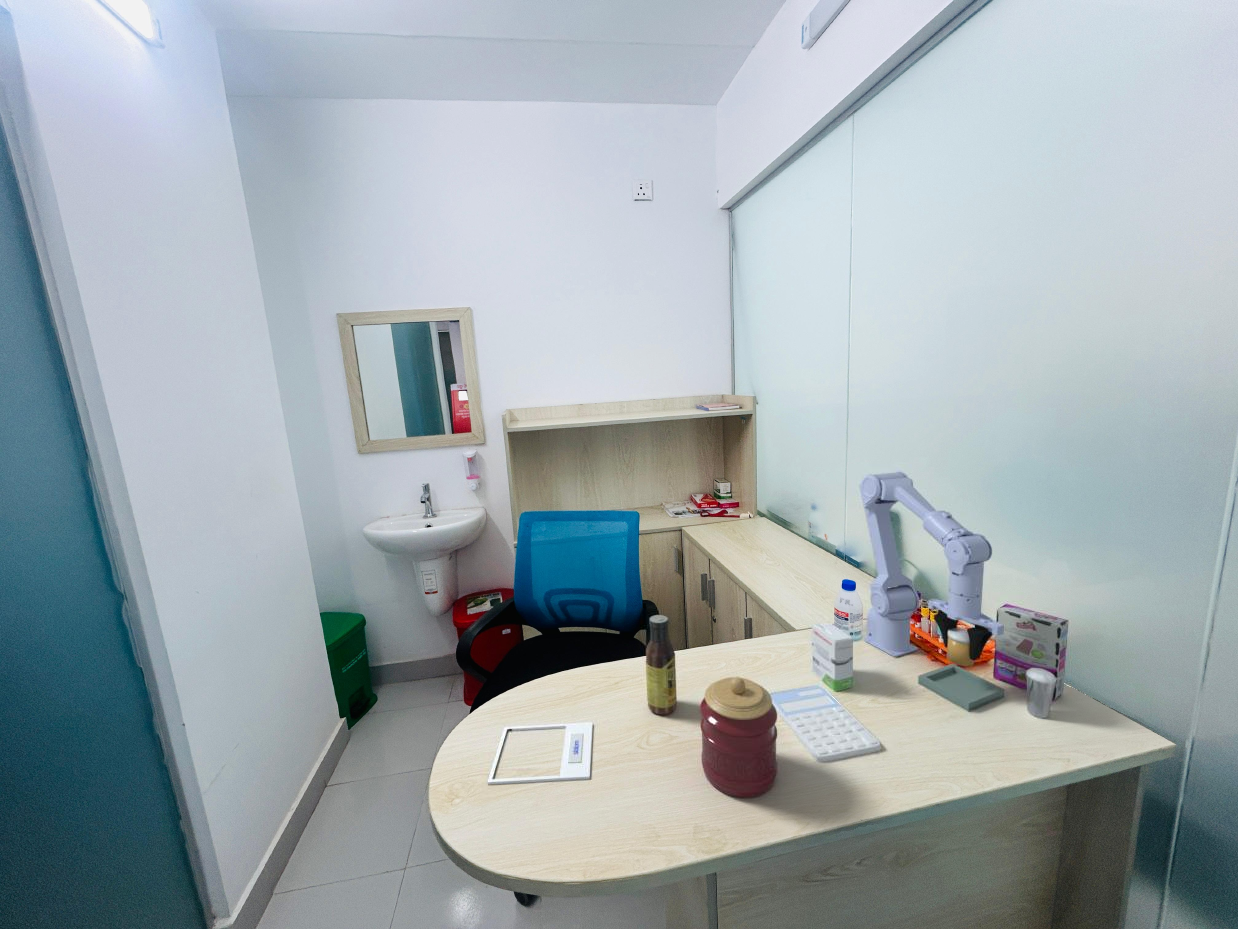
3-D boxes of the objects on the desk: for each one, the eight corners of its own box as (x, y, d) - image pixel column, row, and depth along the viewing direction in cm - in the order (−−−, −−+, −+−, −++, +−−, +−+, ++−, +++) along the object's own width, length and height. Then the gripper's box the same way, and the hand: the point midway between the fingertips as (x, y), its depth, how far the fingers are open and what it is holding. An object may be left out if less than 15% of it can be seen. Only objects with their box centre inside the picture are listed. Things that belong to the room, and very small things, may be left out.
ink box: (853, 688, 111) (854, 638, 109) (834, 692, 110) (835, 641, 108) (828, 667, 119) (829, 620, 118) (810, 671, 118) (810, 624, 117)
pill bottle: (940, 656, 109) (942, 630, 108) (958, 652, 110) (960, 626, 110) (962, 668, 104) (964, 641, 103) (980, 663, 106) (982, 637, 105)
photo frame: (589, 775, 89) (487, 781, 89) (589, 781, 89) (487, 787, 89) (592, 721, 103) (504, 726, 103) (592, 726, 103) (505, 731, 103)
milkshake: (1059, 725, 96) (1063, 677, 95) (1023, 715, 100) (1027, 668, 98) (1057, 712, 100) (1061, 666, 98) (1023, 703, 103) (1026, 658, 102)
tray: (918, 683, 112) (918, 675, 111) (952, 670, 116) (952, 663, 115) (968, 711, 102) (968, 703, 101) (1003, 697, 106) (1004, 689, 105)
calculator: (817, 766, 90) (817, 756, 90) (765, 699, 109) (764, 691, 109) (883, 752, 92) (884, 743, 92) (820, 690, 112) (820, 682, 112)
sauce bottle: (675, 717, 104) (672, 627, 101) (645, 715, 105) (641, 626, 102) (678, 698, 110) (675, 613, 107) (650, 696, 112) (646, 611, 109)
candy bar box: (1063, 693, 106) (1070, 619, 103) (1055, 702, 103) (1061, 627, 101) (1001, 670, 115) (1005, 602, 113) (991, 677, 112) (996, 608, 110)
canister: (702, 797, 84) (699, 700, 81) (700, 743, 96) (698, 657, 94) (783, 803, 82) (783, 703, 79) (771, 746, 95) (770, 659, 92)
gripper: (919, 583, 110) (917, 641, 113) (989, 609, 97) (984, 674, 99) (941, 577, 113) (939, 634, 115) (1012, 601, 100) (1008, 665, 102)
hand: (961, 652), depth 107 cm, fingers closed on pill bottle, 5 cm apart
